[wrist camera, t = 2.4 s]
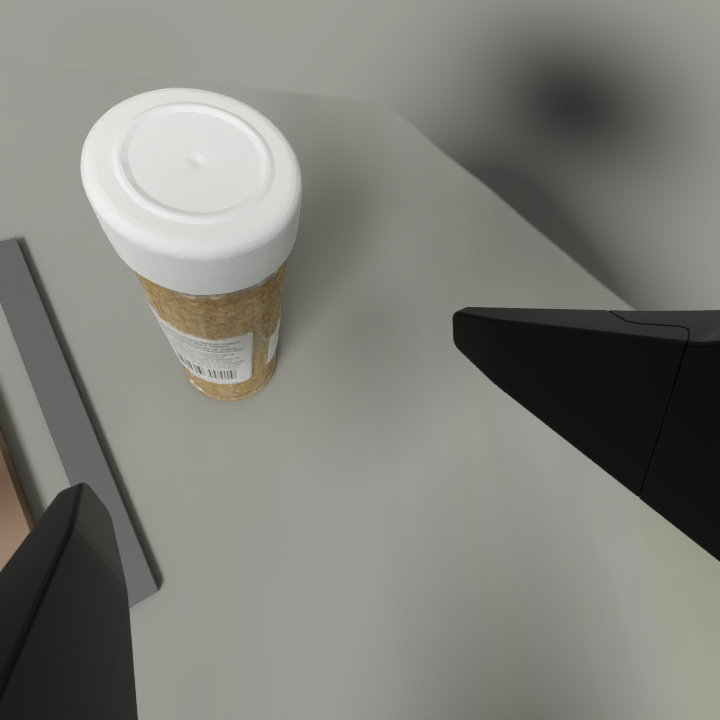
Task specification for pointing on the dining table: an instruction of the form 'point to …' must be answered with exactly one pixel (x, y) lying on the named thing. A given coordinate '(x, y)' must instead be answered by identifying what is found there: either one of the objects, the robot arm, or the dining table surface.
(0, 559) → the board
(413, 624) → the dining table surface
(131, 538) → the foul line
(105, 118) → the sprinkles bottle
